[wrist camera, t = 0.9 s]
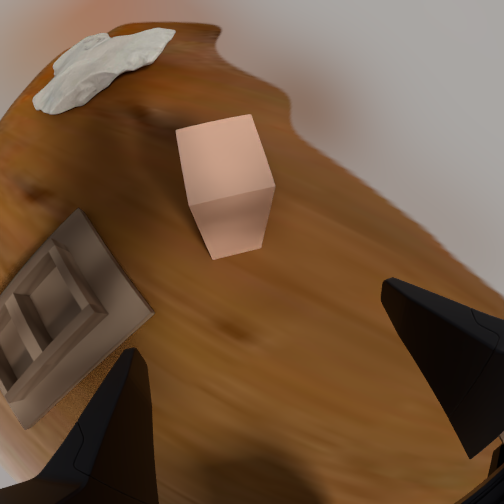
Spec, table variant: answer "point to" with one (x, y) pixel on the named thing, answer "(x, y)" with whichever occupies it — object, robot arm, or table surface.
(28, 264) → the rack
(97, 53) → the rock
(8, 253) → the table surface
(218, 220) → the clay block
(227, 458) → the table surface
